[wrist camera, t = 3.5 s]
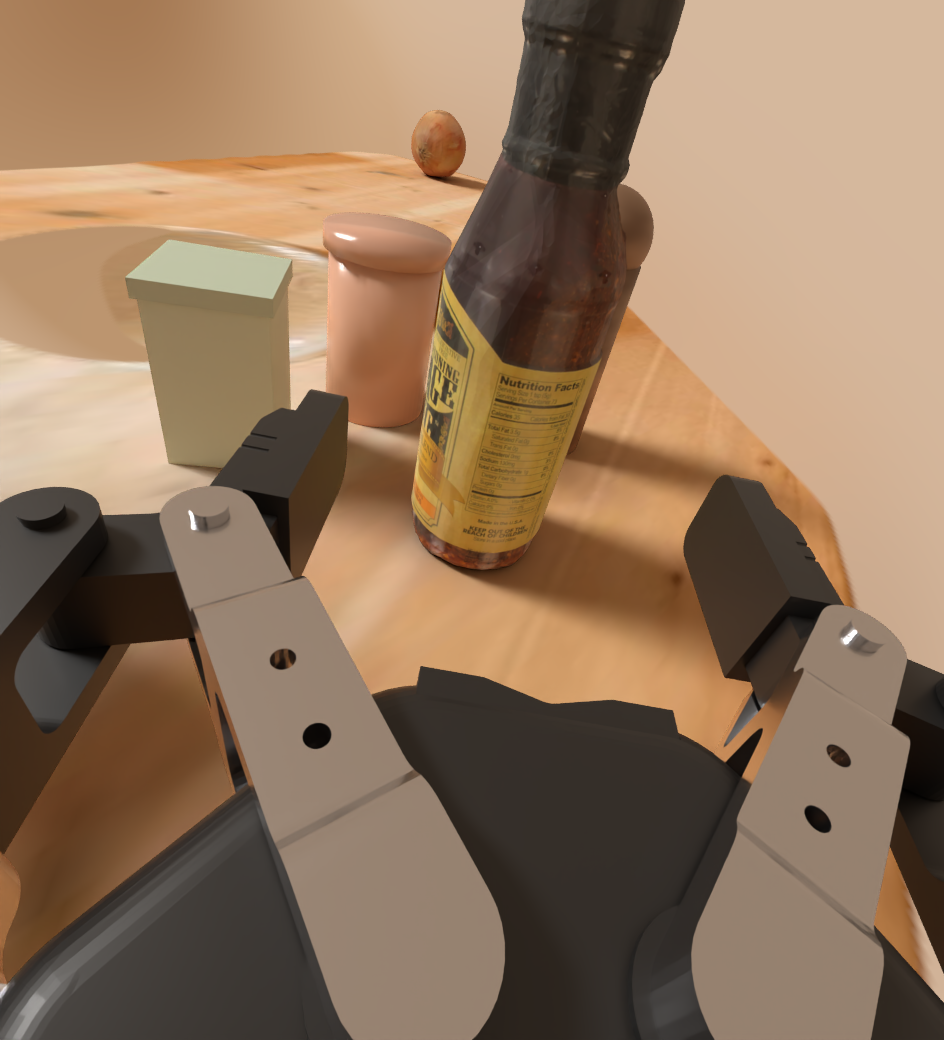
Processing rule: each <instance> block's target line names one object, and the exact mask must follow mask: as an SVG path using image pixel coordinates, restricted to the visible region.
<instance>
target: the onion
mask: <svg viewBox="0 0 944 1040" xmlns="http://www.w3.org/2000/svg"><path fill="white" fill-rule="evenodd" d="M411 149H412V154H413V157H414V159H415V161H416V163H417V164H418V166H419V167H420V168H421V169H422V171H423V172H424V173H425V174H427V175H429V176H445V177H449V176H451V175H452V174H453V173H455V171H456V170H457V169H458V168H459V167H460V165H461V164H462V162H463V159H464V156H465V151H466V141H465V137H464V133H463V131H462V128H461V126H460V125H459V123H458V122H457V120H456V119H455V118H454V117H453V116H452V115H451V114H450V113H448V112H446V111H442V110H434V111H430V112H428V113H426V114H425V115H424V116H423V117H422V118H421V119H420V121H419V122H418V124H417V126H416V127H415V130H414V132H413V135H412V144H411Z"/></svg>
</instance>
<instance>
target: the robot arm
mask: <svg viewBox="0 0 944 1040" xmlns="http://www.w3.org/2000/svg"><path fill="white" fill-rule="evenodd" d="M348 413H349V402H348V397H347V396H342V395H337V394H332V393H327V392H322V391H317V390H312V389H311V390H310V391H309V392H308V393H307V395H306V396H305V398H304V399H303V401H302V402H301V404H300V405H299V406H298V408H297V409H296V411H295V410H290V409H285V408H279V409H278V410H276V411H274V412H272V413H270V414H268V415H266V416H264V417H262V418H261V419H260V420H259V422H258V423H257V424H256V426H255V427H254V428H253V430H252V431H251V432H250V435H248V436H247V437H246V439H245V440H244V441H243V443H242V444H241V447H239V448H238V449H237V451H236V452H235V453H234V455H233V456H232V457H231V459H230V460H229V461H228V462H227V464H226V465H225V466H224V468H223V469H222V470H221V472H220V473H219V474H218V476H217V477H216V478H215V480H214V481H213V482H212V484H211V485H210V486H206V487H199V488H194V489H190V490H187V491H185V492H182V493H180V494H178V495H176V496H175V497H173V498H172V499H170V500H169V501H168V502H167V503H166V504H165V505H164V507H163V508H162V510H161V512H160V513H153V514H130V515H102V513H101V510H100V506H99V503H98V502H97V500H96V499H95V498H94V497H93V496H92V495H90V494H88V493H86V492H84V491H81V490H78V489H74V488H66V487H48V488H40V489H34V490H30V491H26V492H23V493H20V494H17V495H14V496H12V497H10V498H8V499H6V500H4V501H2V502H1V503H0V1040H944V1002H943V1001H942V1000H940V998H939V997H938V996H937V995H936V994H935V993H934V991H933V990H932V989H931V988H930V987H929V986H928V985H927V984H926V982H925V981H924V980H923V979H922V978H921V977H920V976H919V975H918V974H917V972H916V971H915V970H914V969H913V968H912V967H911V966H910V965H909V964H908V962H907V961H906V960H905V959H904V958H903V957H902V956H901V955H900V954H899V952H898V951H897V950H896V949H895V948H894V947H893V946H892V945H891V944H890V942H889V941H888V940H887V939H886V938H885V937H884V936H883V935H882V934H881V932H880V931H879V930H878V929H877V928H876V927H875V926H874V919H875V914H876V909H877V904H878V899H879V894H880V890H881V885H882V880H883V875H884V870H885V865H886V860H887V856H888V851H889V846H890V848H891V850H892V852H893V855H894V857H895V860H896V862H897V864H898V867H899V869H900V871H901V874H902V876H903V878H904V881H905V883H906V885H907V888H908V890H909V893H910V895H911V897H912V900H913V902H914V904H915V907H916V909H917V911H918V914H919V916H920V919H921V921H922V923H923V926H924V928H925V930H926V933H927V935H928V937H929V940H930V942H931V945H932V947H933V949H934V951H935V954H936V956H937V958H938V961H939V963H940V966H941V968H942V971H943V973H944V674H942V673H939V672H937V671H935V670H932V669H930V668H927V667H925V666H923V665H920V664H918V663H915V662H913V661H911V660H908V659H907V656H906V652H905V650H904V647H903V646H902V644H901V642H900V641H899V640H898V639H897V637H896V636H895V635H894V634H893V633H892V632H891V631H890V630H889V629H888V628H887V627H886V626H884V625H883V624H882V623H880V622H879V621H878V620H876V619H875V618H873V617H871V616H870V615H868V614H866V613H864V612H862V611H860V610H857V609H855V608H852V607H848V606H844V604H843V602H842V601H841V599H840V598H839V596H838V594H837V593H836V591H835V589H834V588H833V586H832V584H831V583H830V581H829V579H828V578H827V576H826V574H825V573H824V571H823V569H822V568H821V566H820V564H819V563H818V562H816V561H815V559H816V558H815V556H814V554H813V553H812V551H811V549H810V548H809V547H807V543H806V541H805V539H804V538H803V536H802V534H801V533H800V531H799V529H798V528H797V526H796V525H795V524H794V523H793V522H792V521H791V520H790V519H789V518H787V517H786V516H785V515H784V514H783V513H782V512H781V511H780V510H779V509H777V508H776V507H775V505H774V503H773V501H772V500H771V498H770V496H769V494H768V493H767V491H766V489H765V488H764V486H763V484H762V483H760V482H758V481H754V480H749V479H744V478H739V477H734V476H729V475H722V476H721V477H719V478H718V479H717V480H716V481H715V483H714V485H713V486H712V488H711V490H710V491H709V493H708V495H707V497H706V498H705V500H704V502H703V504H702V505H701V507H700V509H699V511H698V512H697V514H696V516H695V517H694V519H693V521H692V523H691V524H690V526H689V528H688V530H687V533H686V536H685V540H684V557H685V560H686V563H687V566H688V569H689V572H690V575H691V578H692V581H693V584H694V587H695V590H696V593H697V596H698V599H699V602H700V605H701V608H702V611H703V614H704V617H705V620H706V623H707V626H708V629H709V632H710V635H711V638H712V641H713V644H714V647H715V650H716V653H717V656H718V659H719V662H720V666H721V669H722V672H723V675H724V677H725V678H730V679H736V680H741V681H747V682H751V684H752V687H753V689H752V690H751V691H750V692H749V693H748V695H747V696H746V697H745V698H744V699H743V701H742V703H741V705H740V707H739V708H738V710H737V712H736V714H735V716H734V717H733V719H732V721H731V723H730V725H729V726H728V728H727V730H726V732H725V734H724V735H723V737H722V739H721V741H720V743H719V744H718V746H717V748H716V750H715V752H714V753H712V752H711V751H709V750H708V749H706V748H705V747H703V746H702V745H700V744H699V743H697V742H695V741H693V740H691V739H689V738H687V737H686V736H684V735H682V734H680V733H678V730H677V726H676V722H675V717H674V713H673V710H667V709H661V708H656V707H650V706H644V705H639V704H633V703H627V702H622V701H616V700H603V701H589V702H575V703H560V704H550V703H546V702H543V701H540V700H538V699H535V698H533V697H530V696H528V695H526V694H523V693H521V692H518V691H516V690H513V689H511V688H509V687H506V686H504V685H501V684H499V683H497V682H494V681H492V680H489V679H487V678H485V677H480V676H474V675H468V674H463V673H457V672H451V671H446V670H440V669H434V668H428V667H423V666H421V667H420V671H419V676H418V681H417V685H416V686H403V687H398V688H393V689H388V690H385V691H381V692H378V693H375V694H372V695H371V694H370V692H369V690H368V688H367V686H366V684H365V682H364V681H363V679H362V677H361V675H360V673H359V671H358V669H357V668H356V666H355V664H354V662H353V660H352V658H351V656H350V655H349V653H348V651H347V649H346V647H345V645H344V643H343V642H342V640H341V638H340V636H339V634H338V632H337V630H336V629H335V627H334V625H333V623H332V621H331V619H330V617H329V616H328V614H327V612H326V610H325V608H324V606H323V604H322V603H321V601H320V599H319V597H318V595H317V593H316V591H315V590H314V588H313V586H312V584H311V583H310V581H309V580H308V579H307V578H306V577H304V576H301V575H302V573H303V571H304V568H305V566H306V564H307V562H308V559H309V557H310V555H311V553H312V550H313V548H314V546H315V544H316V541H317V539H318V537H319V535H320V532H321V530H322V528H323V525H324V523H325V521H326V519H327V516H328V514H329V512H330V510H331V507H332V505H333V503H334V501H335V498H336V496H337V494H338V492H339V489H340V487H341V484H342V480H343V476H344V471H345V465H346V452H347V432H348ZM185 638H186V640H187V643H188V646H189V649H190V652H191V655H192V659H193V662H194V665H195V668H196V671H197V674H198V677H199V681H200V684H201V687H202V690H203V693H204V696H205V699H206V703H207V706H208V709H209V712H210V715H211V718H212V722H213V725H214V728H215V732H216V736H217V740H218V743H219V747H220V751H221V755H222V758H223V762H224V765H225V768H226V772H227V775H228V778H229V781H230V785H231V788H232V791H233V794H234V795H233V796H232V797H230V798H229V799H228V800H226V801H225V802H224V803H223V804H221V805H220V806H219V807H218V808H216V809H215V810H214V811H213V812H211V813H210V814H209V815H207V816H206V817H205V818H204V819H202V820H201V821H200V822H199V823H197V824H196V825H195V826H194V827H192V828H191V829H190V830H189V831H187V832H186V833H185V834H183V835H182V836H181V837H180V838H178V839H177V840H176V841H175V842H173V843H172V844H171V845H170V846H168V847H167V848H166V849H164V850H163V851H162V852H161V853H159V854H158V855H157V856H156V857H154V858H153V859H152V860H151V861H149V862H148V863H147V864H145V865H144V866H143V867H142V868H140V869H139V870H138V871H137V872H135V873H134V874H133V875H132V876H130V877H129V878H128V879H126V880H125V881H124V882H123V883H121V884H120V885H119V886H118V887H116V888H115V889H114V890H113V891H111V892H110V893H109V894H107V895H106V896H105V897H104V898H102V899H101V900H100V901H99V902H97V903H96V904H95V905H94V906H92V907H91V908H90V909H88V910H87V911H86V912H85V913H83V914H82V915H81V916H80V917H78V918H77V919H76V920H75V921H73V922H72V923H71V924H69V925H68V926H67V927H66V928H64V929H63V930H62V931H61V932H59V933H58V934H57V935H56V936H55V937H53V938H52V939H51V940H50V941H49V942H47V943H46V944H45V945H44V946H43V947H42V948H41V949H40V950H39V951H38V952H37V953H36V954H35V955H34V956H33V957H32V958H31V959H30V960H29V961H28V962H27V963H26V964H25V965H24V966H23V967H22V968H21V969H20V970H19V971H18V972H17V973H16V975H15V976H14V977H13V978H12V979H11V980H10V982H9V983H8V984H7V983H6V980H5V977H4V973H3V965H2V960H3V949H4V945H5V941H6V936H7V934H8V931H9V929H10V926H11V924H12V921H13V919H14V916H15V914H16V912H17V908H18V904H19V900H20V890H21V886H20V879H19V876H18V873H17V871H16V869H15V868H14V866H13V865H12V864H11V862H10V861H9V860H8V859H7V858H6V857H5V856H4V855H3V854H4V853H5V851H6V849H7V848H8V846H9V844H10V843H11V841H12V839H13V838H14V836H15V834H16V833H17V831H18V829H19V828H20V826H21V824H22V823H23V821H24V819H25V818H26V816H27V815H28V813H29V811H30V810H31V808H32V806H33V805H34V803H35V801H36V800H37V798H38V796H39V795H40V793H41V791H42V790H43V788H44V786H45V785H46V783H47V781H48V780H49V778H50V776H51V775H52V773H53V771H54V770H55V768H56V766H57V765H58V763H59V761H60V760H61V758H62V756H63V755H64V753H65V752H66V750H67V748H68V747H69V745H70V743H71V742H72V740H73V738H74V737H75V735H76V733H77V732H78V730H79V728H80V727H81V725H82V723H83V722H84V720H85V718H86V717H87V715H88V713H89V712H90V710H91V708H92V707H93V705H94V703H95V702H96V700H97V698H98V697H99V695H100V693H101V692H102V690H103V689H104V687H105V685H106V684H107V682H108V680H109V679H110V677H111V675H112V674H113V672H114V670H115V669H116V667H117V665H118V664H119V662H120V660H121V659H122V657H123V655H124V654H125V652H126V650H127V649H128V647H129V645H130V644H132V643H143V642H153V641H164V640H175V639H185Z"/></svg>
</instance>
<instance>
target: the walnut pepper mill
mask: <svg viewBox="0 0 944 1040" xmlns="http://www.w3.org/2000/svg"><path fill="white" fill-rule="evenodd" d="M617 197H618V202H619V211H620V215H621V224H622V229H623V231H624V232H625V233H626V262H627V270H626V277H625V285H624V288H623V291H622V295H621V299H620V301H619V303H618V304H617V306H616V309H615V313H614V315H613V318H612V321H611V323H610V326H609V329H608V331H607V335H606V338H605V341H604V343H603V346H602V348H601V349H602V352H603V354H602V358H601V361H600V364H599V367H598V369H597V372H596V375H595V378H594V380H593V383H592V386H591V388H590V391H589V394H588V397H587V399H586V402H585V405H584V408H583V410H582V413H581V416H580V419H579V421H578V424H577V427H576V430H575V432H574V435H573V438H572V441H571V443H570V446H569V449H568V452H567V454H569V453H571V452H573V451H574V450H575V448H576V446H577V444H578V441H579V438H580V435H581V432H582V430H583V427H584V424H585V421H586V419H587V416H588V413H589V410H590V408H591V405H592V402H593V399H594V396H595V394H596V391H597V388H598V385H599V383H600V380H601V377H602V374H603V372H604V369H605V366H606V363H607V360H608V358H609V355H610V352H611V349H612V347H613V344H614V341H615V338H616V335H617V333H618V330H619V327H620V324H621V322H622V319H623V316H624V313H625V311H626V308H627V305H628V302H629V299H630V296H631V294H632V291H633V288H634V286H635V283H636V280H637V277H638V275H639V272H640V269H641V266H640V265H641V264H642V262H643V261H644V260H645V258H646V256H647V254H648V252H649V250H650V247H651V244H652V239H653V229H654V226H653V218H652V214H651V211H650V208H649V206H648V204H647V202H646V201H645V200H644V198H643V197H642V196H641V195H640V194H639V193H638V192H637V191H635V190H634V189H632V188H630V187H628V186H626V185H622V184H619V185H618V188H617Z"/></svg>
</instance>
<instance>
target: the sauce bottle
mask: <svg viewBox="0 0 944 1040" xmlns="http://www.w3.org/2000/svg"><path fill="white" fill-rule="evenodd" d="M684 4H685V0H526V1H525V7H524V11H523V15H522V24H523V30H524V35H525V42H524V48H523V55H522V59H521V64H520V70H519V74H518V78H517V86H516V93H515V97H514V101H513V106H512V111H511V117H510V121H509V126H508V129H507V132H506V135H505V136H504V139H503V141H502V146H503V151H502V153H501V155H500V157H499V160H498V161H497V164H496V166H495V168H494V170H493V172H492V174H491V177H490V179H489V181H488V183H487V185H486V187H485V189H484V191H483V193H482V195H481V197H480V199H479V200H478V202H477V204H476V206H475V208H474V210H473V212H472V214H471V216H470V218H469V220H468V222H467V224H466V226H465V228H464V230H463V231H462V233H461V235H460V237H459V239H458V241H457V243H456V245H455V247H454V249H453V251H452V253H451V255H450V256H449V258H448V260H447V262H446V264H445V269H444V275H443V281H442V288H441V294H440V301H439V309H438V316H437V323H436V330H435V337H434V344H433V351H432V357H431V363H430V369H429V375H428V383H427V392H426V399H425V405H424V412H423V420H422V426H421V433H420V440H419V447H418V454H417V461H416V468H415V475H414V482H413V489H412V496H411V499H412V506H413V512H412V515H413V523H414V526H415V530H416V533H417V534H418V536H419V539H420V541H421V543H422V545H423V546H424V547H425V548H426V549H427V550H428V551H430V553H431V554H434V555H436V556H439V557H441V558H442V559H444V560H446V561H448V562H450V563H452V564H453V565H456V566H461V567H466V568H470V569H479V570H486V569H498V568H502V567H505V566H509V565H512V564H514V563H515V562H516V561H517V560H518V559H519V558H520V557H522V556H523V555H524V553H525V551H526V550H527V548H528V547H529V545H530V543H531V542H532V538H533V537H534V536H535V534H536V533H537V532H538V530H539V528H540V525H541V522H542V520H543V517H544V514H545V511H546V508H547V506H548V503H549V500H550V497H551V495H552V492H553V489H554V487H555V484H556V481H557V479H558V476H559V473H560V471H561V468H562V465H563V462H564V460H565V457H566V454H567V452H568V449H569V446H570V443H571V441H572V438H573V435H574V432H575V430H576V427H577V424H578V421H579V419H580V416H581V413H582V410H583V408H584V405H585V402H586V399H587V397H588V394H589V391H590V388H591V386H592V383H593V380H594V378H595V375H596V372H597V369H598V367H599V364H600V361H601V358H602V354H603V352H602V349H601V348H602V346H603V343H604V341H605V338H606V335H607V331H608V329H609V326H610V323H611V321H612V318H613V315H614V313H615V309H616V306H617V304H618V303H619V301H620V299H621V295H622V291H623V288H624V285H625V277H626V270H627V262H626V233H625V232H624V231H623V229H622V224H621V215H620V211H619V202H618V197H617V188H618V185H619V184H620V182H622V180H623V179H624V178H625V177H626V175H627V173H628V170H629V166H630V164H629V160H628V158H629V154H630V151H631V148H632V145H633V142H634V139H635V136H636V132H637V129H638V126H639V123H640V120H641V117H642V114H643V111H644V107H645V104H646V100H647V97H648V95H649V91H650V88H651V86H652V83H653V81H654V80H655V79H656V77H657V76H658V75H659V74H660V72H661V71H662V68H663V66H664V64H665V62H666V60H667V58H668V56H669V54H670V50H671V46H672V42H673V39H674V36H675V34H676V31H677V28H678V25H679V21H680V17H681V14H682V11H683V7H684Z"/></svg>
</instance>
